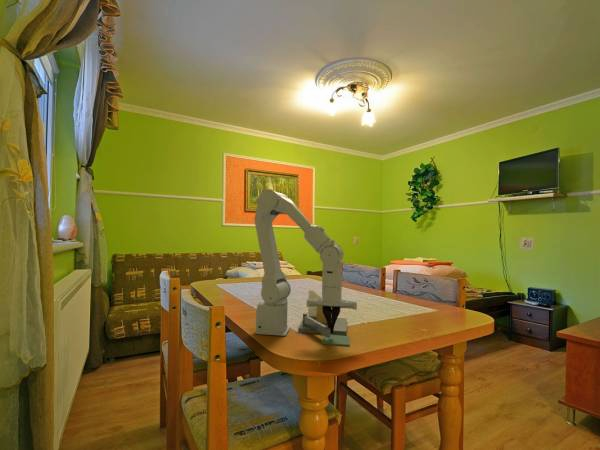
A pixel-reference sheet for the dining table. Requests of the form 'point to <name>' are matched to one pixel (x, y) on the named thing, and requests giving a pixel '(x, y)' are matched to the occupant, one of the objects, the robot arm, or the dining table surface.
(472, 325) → the dining table surface
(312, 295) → the white wedge bracket
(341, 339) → the pad
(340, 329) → the dock plate
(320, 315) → the plug
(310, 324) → the retaining bar
